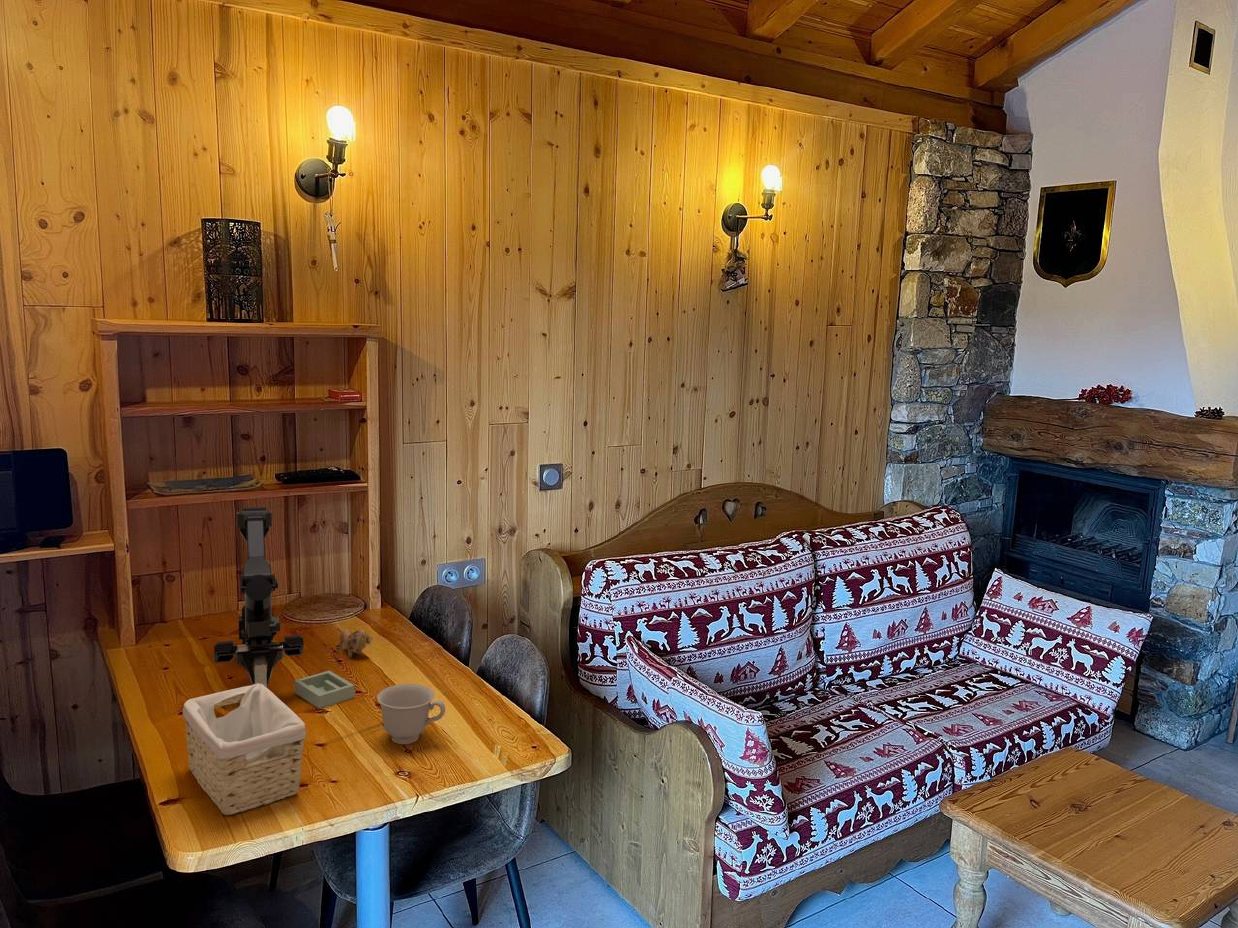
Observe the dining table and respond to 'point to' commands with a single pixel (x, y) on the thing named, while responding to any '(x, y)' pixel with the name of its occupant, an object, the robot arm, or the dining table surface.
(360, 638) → the lion figurine
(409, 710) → the teacup
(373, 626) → the dining table surface
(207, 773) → the storage basket
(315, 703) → the storage box
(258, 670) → the rectangular steel block
